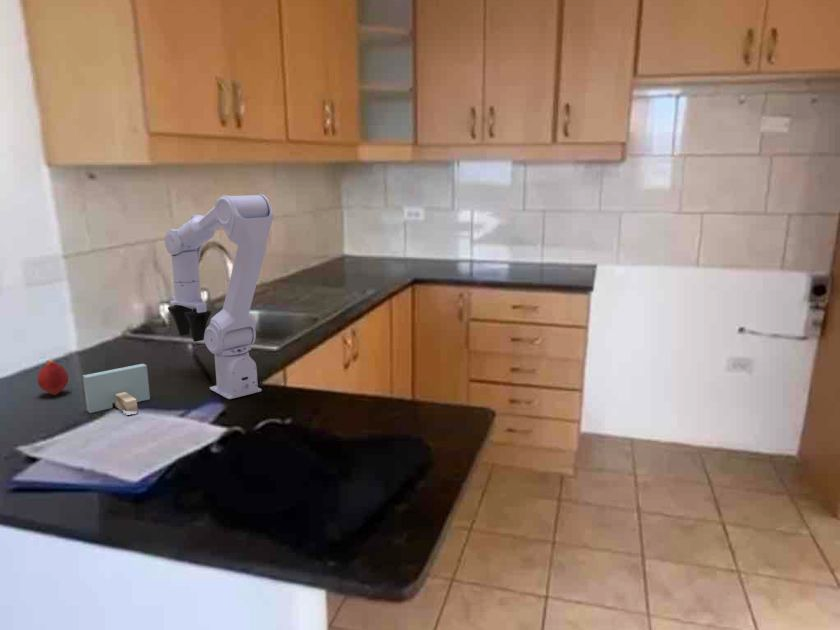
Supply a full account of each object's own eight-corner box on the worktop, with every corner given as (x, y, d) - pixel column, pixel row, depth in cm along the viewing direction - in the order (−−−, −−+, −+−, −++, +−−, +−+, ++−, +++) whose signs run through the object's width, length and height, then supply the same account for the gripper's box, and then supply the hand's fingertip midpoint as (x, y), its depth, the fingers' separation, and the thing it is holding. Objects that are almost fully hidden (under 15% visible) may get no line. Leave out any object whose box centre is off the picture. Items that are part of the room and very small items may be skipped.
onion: (63, 388, 144) (59, 354, 143) (74, 394, 141) (70, 359, 139) (35, 395, 140) (30, 360, 138) (46, 401, 136) (41, 365, 135)
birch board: (137, 413, 129) (136, 399, 129) (127, 416, 128) (126, 402, 127) (110, 394, 141) (109, 381, 140) (101, 396, 139) (99, 383, 139)
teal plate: (149, 399, 138) (146, 365, 136) (89, 413, 130) (85, 377, 128) (146, 396, 139) (143, 363, 137) (86, 410, 131) (82, 375, 129)
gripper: (157, 279, 151) (162, 335, 154) (183, 286, 140) (187, 346, 143) (186, 275, 155) (190, 330, 158) (213, 283, 145) (217, 341, 148)
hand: (191, 337), depth 151 cm, fingers open, 7 cm apart
